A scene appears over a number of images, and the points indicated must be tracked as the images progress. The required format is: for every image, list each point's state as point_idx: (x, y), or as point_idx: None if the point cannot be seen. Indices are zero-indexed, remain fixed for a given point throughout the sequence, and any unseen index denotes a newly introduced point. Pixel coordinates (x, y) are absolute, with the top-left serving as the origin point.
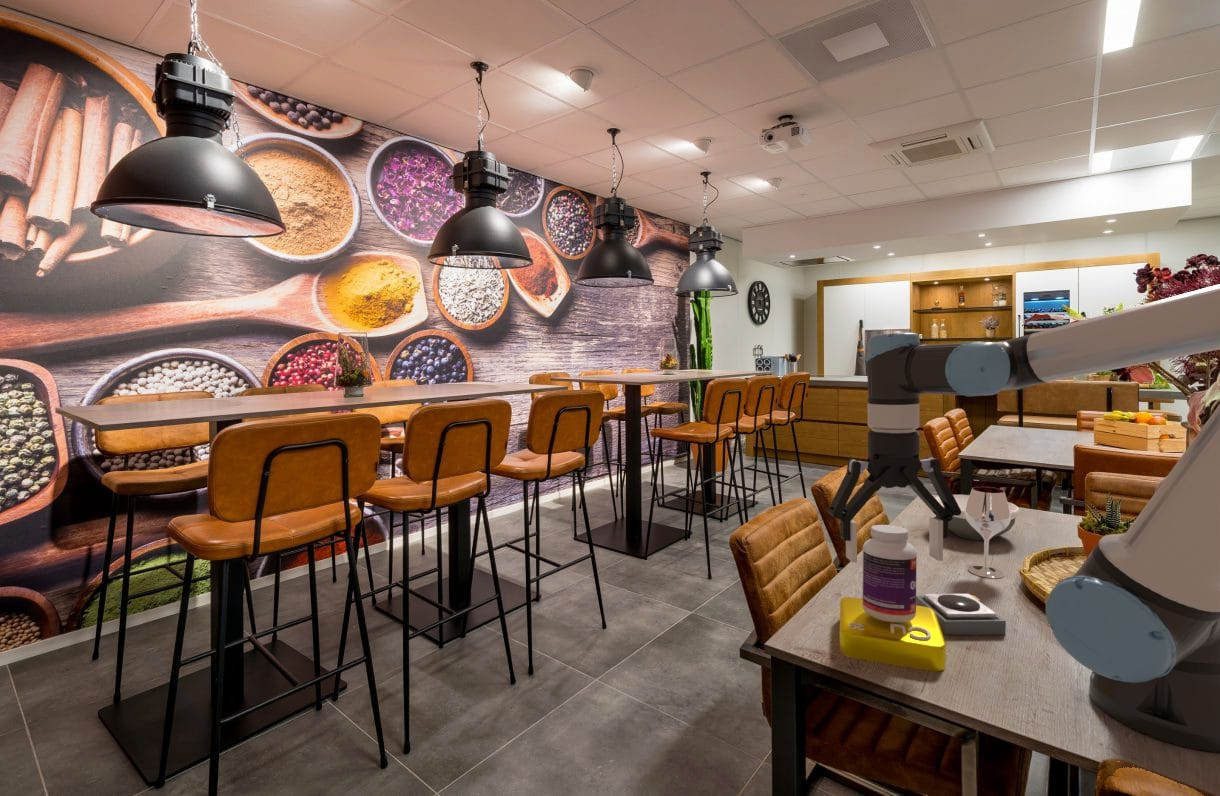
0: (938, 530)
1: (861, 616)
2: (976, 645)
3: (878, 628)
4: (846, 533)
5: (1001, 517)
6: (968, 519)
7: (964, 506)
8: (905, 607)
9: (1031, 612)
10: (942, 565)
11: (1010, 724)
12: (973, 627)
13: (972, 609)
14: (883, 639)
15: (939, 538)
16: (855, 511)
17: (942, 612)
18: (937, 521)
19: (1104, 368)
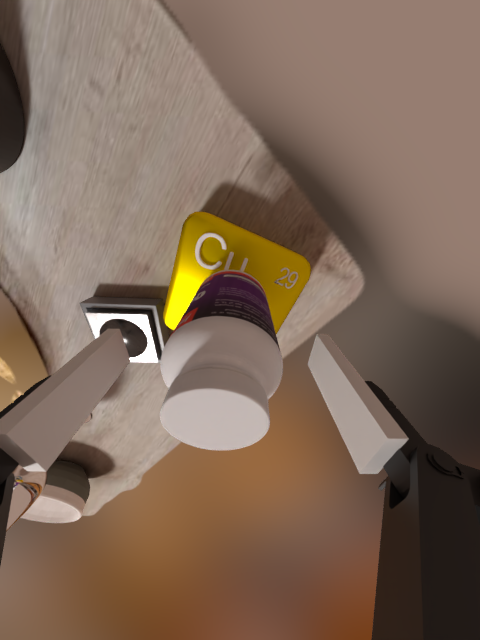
0: (48, 393)
1: None
2: (134, 274)
3: (259, 272)
4: (381, 401)
5: None
6: (40, 482)
7: (56, 505)
8: (221, 275)
9: (50, 341)
10: (113, 425)
11: (164, 41)
12: (124, 301)
13: (111, 322)
14: (267, 241)
15: (70, 370)
16: (441, 514)
17: (151, 324)
18: (15, 432)
19: None
